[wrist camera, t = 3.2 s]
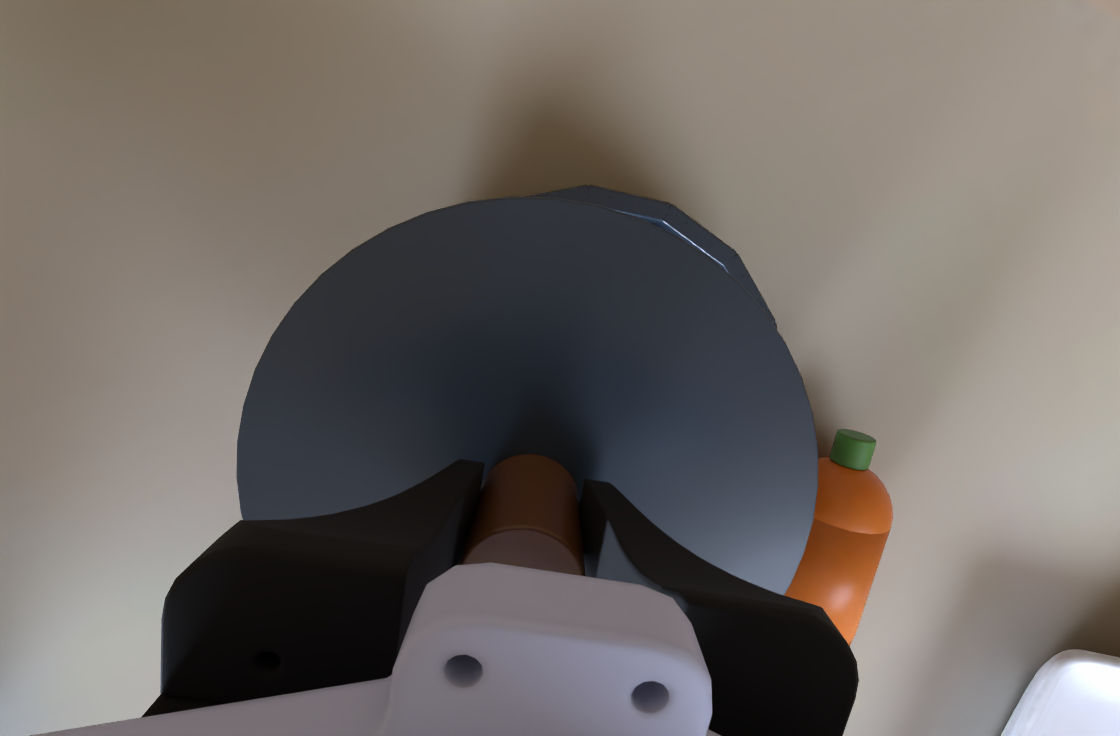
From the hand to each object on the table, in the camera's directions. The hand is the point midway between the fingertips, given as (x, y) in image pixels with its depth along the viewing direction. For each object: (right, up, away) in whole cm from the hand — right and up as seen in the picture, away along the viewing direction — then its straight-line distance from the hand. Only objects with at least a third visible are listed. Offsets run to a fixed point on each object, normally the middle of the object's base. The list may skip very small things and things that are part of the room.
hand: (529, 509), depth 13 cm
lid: (0, 0, +1) cm, 1 cm away
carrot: (+11, -4, +12) cm, 17 cm away
